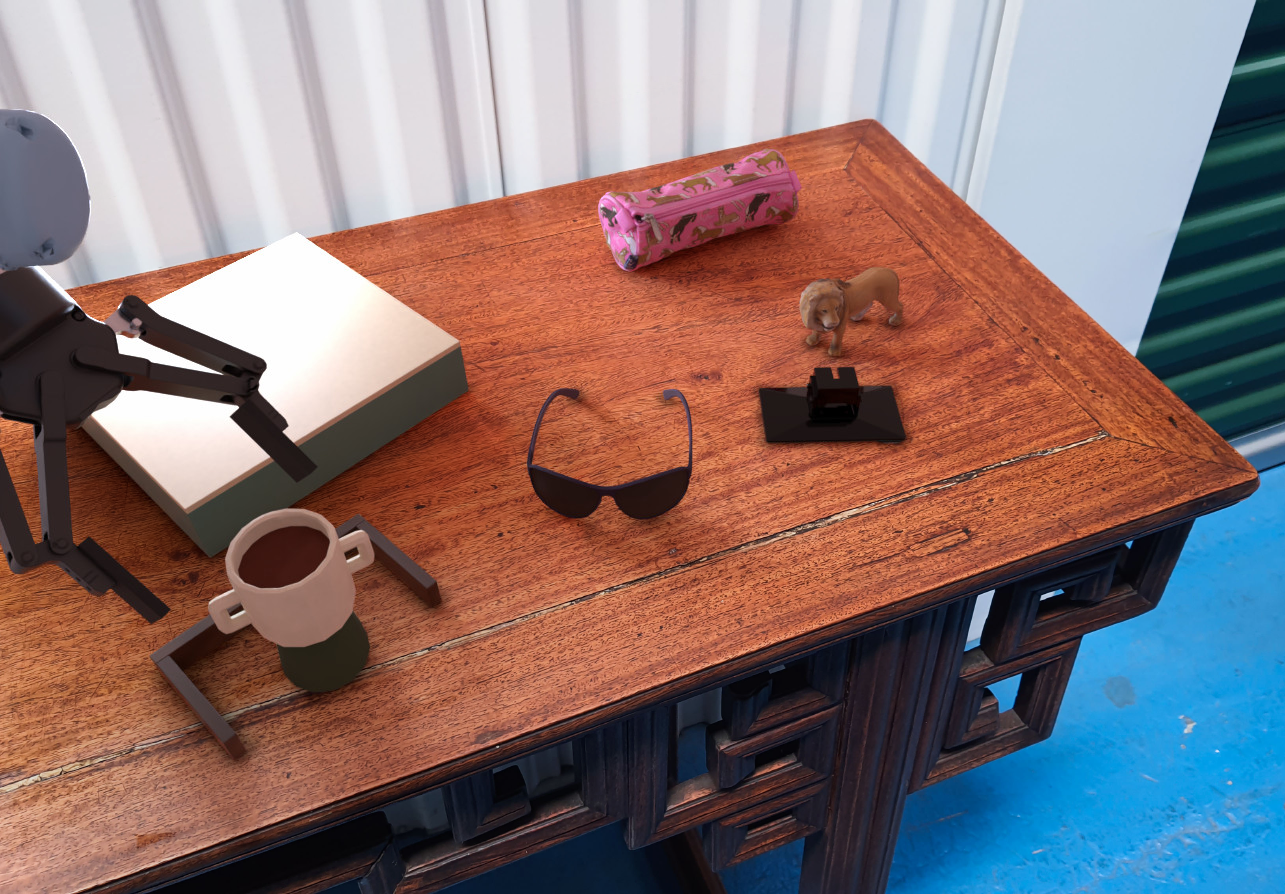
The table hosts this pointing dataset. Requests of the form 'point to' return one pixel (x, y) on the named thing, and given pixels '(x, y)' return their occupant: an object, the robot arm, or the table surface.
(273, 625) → the character mug
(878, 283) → the lion figurine
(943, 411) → the table surface
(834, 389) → the build plate
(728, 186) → the pencil case
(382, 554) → the dark brown u-shaped bracket
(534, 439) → the sunglasses
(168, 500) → the cream square platform
